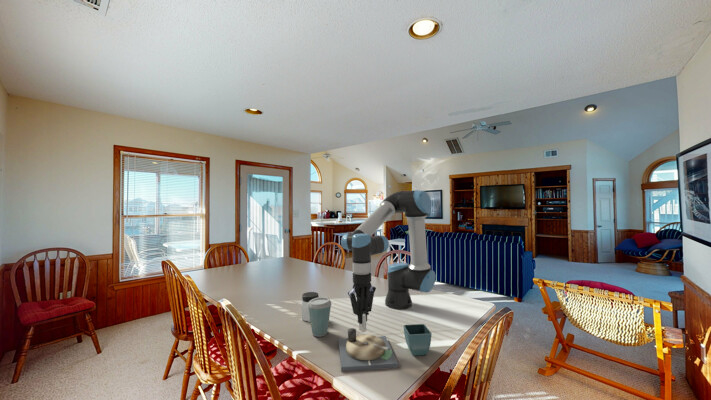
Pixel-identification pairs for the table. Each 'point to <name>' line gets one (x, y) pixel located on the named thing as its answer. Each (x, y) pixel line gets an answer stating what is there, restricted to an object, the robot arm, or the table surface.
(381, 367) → the tuner base
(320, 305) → the disposable coffee cup
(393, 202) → the robot arm
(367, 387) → the table surface
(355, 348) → the dial
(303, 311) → the jar
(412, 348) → the flower pot
